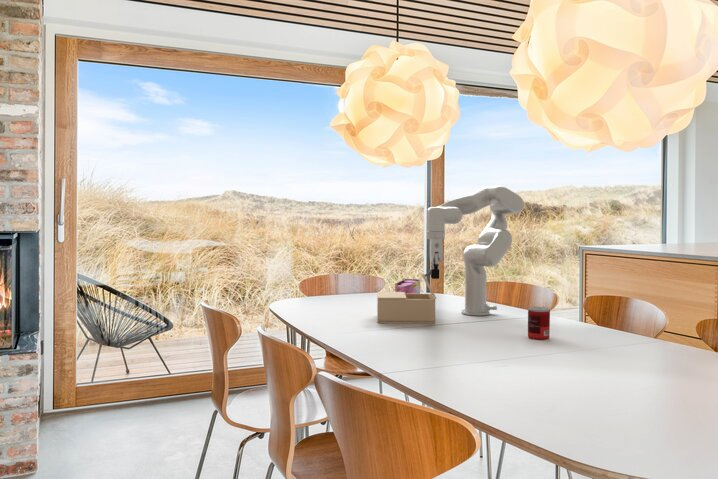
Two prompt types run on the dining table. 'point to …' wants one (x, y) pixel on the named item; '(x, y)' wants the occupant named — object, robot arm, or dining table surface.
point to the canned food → (538, 323)
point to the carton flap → (427, 281)
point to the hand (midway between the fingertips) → (435, 277)
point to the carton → (405, 308)
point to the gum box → (408, 286)
